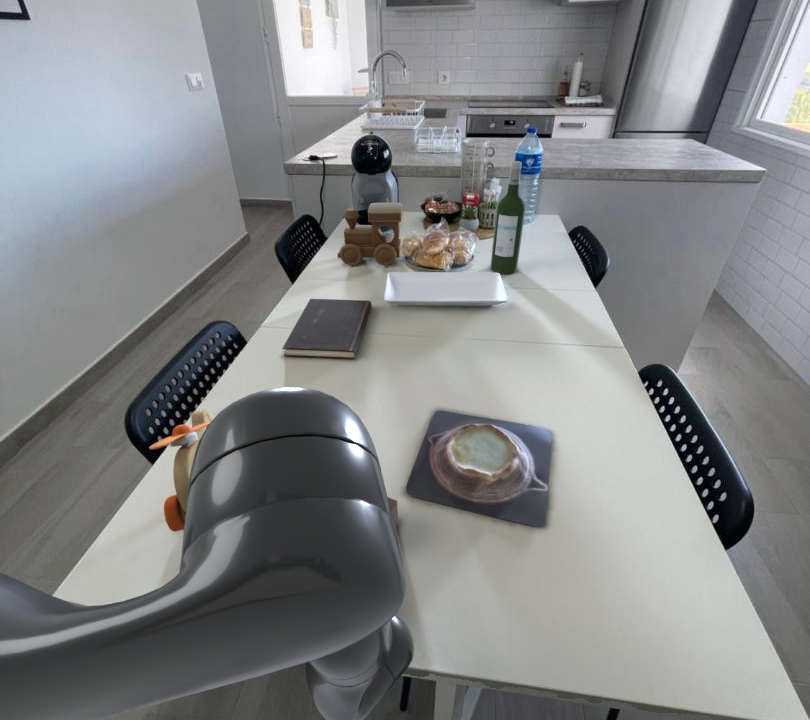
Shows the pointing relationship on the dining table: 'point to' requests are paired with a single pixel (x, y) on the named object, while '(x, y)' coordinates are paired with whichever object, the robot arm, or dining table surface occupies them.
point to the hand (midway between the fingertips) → (210, 467)
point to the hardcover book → (329, 329)
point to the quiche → (484, 467)
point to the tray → (444, 289)
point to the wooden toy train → (372, 235)
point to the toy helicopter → (182, 465)
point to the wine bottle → (508, 226)
